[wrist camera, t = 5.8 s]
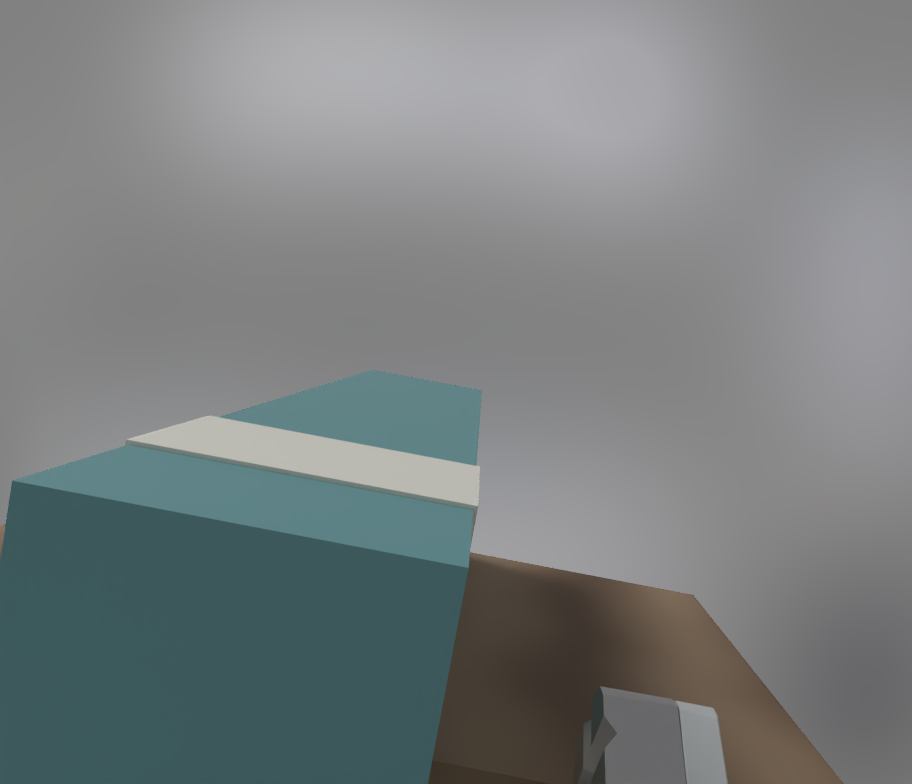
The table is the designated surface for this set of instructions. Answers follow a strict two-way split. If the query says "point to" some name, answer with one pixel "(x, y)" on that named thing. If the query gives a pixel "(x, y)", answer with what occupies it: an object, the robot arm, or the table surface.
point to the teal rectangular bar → (243, 594)
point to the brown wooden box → (593, 677)
